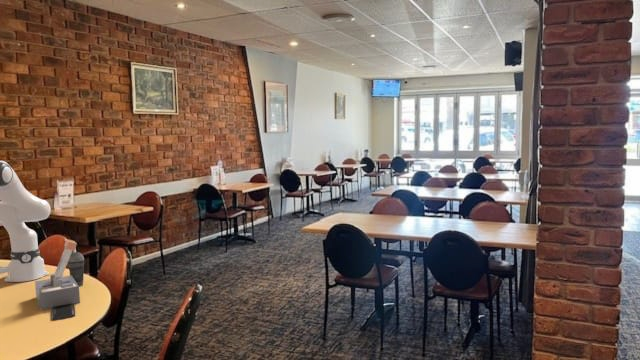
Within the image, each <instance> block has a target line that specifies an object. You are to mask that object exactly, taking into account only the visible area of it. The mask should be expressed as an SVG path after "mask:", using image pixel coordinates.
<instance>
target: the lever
mask: <svg viewBox="0 0 640 360" xmlns="http://www.w3.org/2000/svg"><path fill="white" fill-rule="evenodd" d="M77 245H78V243H77V242H76V241H75V240H71V239H67V238H66V240H65V243H64V244H63V246H64V249H63V252H62V254H61V257H60V259H59V262H58V264H57V266H56V268H55V271H54V273H53V274H54V276H53V278H52V279H53V280H56V279H61V278H62V277H63V275H64V274H65V273H64V272H65V270H66V267H67V266H68V260H69V258H70V255H71V254H72V253H73V251H74V252H75V250H76V247H77Z"/></svg>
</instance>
